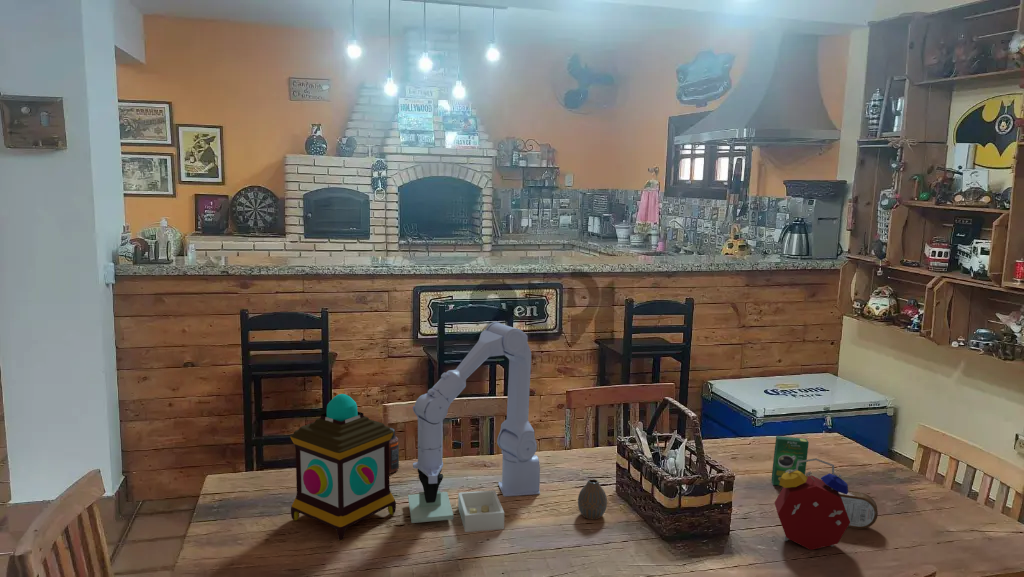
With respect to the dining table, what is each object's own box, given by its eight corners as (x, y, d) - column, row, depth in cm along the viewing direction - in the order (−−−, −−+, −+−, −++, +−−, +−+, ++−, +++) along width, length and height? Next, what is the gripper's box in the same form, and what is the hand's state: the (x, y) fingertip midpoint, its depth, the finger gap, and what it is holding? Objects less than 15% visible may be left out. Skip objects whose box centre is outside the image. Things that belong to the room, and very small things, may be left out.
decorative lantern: (347, 491, 183) (345, 377, 178) (404, 513, 172) (403, 391, 167) (281, 521, 167) (277, 396, 162) (339, 547, 156) (337, 414, 151)
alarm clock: (841, 540, 162) (849, 456, 159) (849, 560, 154) (858, 471, 151) (771, 532, 166) (778, 449, 162) (776, 551, 157) (783, 464, 154)
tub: (494, 505, 177) (495, 490, 176) (504, 528, 165) (504, 512, 164) (458, 508, 175) (458, 492, 174) (465, 532, 163) (465, 515, 163)
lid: (447, 497, 178) (447, 480, 178) (453, 521, 166) (453, 502, 165) (408, 501, 176) (407, 483, 176) (411, 525, 164) (411, 506, 163)
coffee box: (802, 484, 192) (806, 437, 190) (805, 488, 189) (809, 441, 187) (771, 481, 194) (774, 434, 192) (772, 485, 191) (776, 438, 189)
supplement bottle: (401, 466, 199) (401, 427, 198) (395, 474, 193) (395, 434, 192) (380, 464, 200) (379, 425, 198) (374, 473, 194) (373, 433, 192)
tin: (875, 527, 169) (878, 493, 168) (877, 533, 166) (880, 498, 165) (806, 516, 174) (809, 483, 173) (806, 522, 171) (809, 488, 170)
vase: (610, 512, 174) (611, 478, 173) (601, 524, 168) (602, 489, 166) (583, 506, 177) (584, 473, 175) (573, 518, 171) (574, 483, 169)
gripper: (410, 435, 175) (411, 488, 177) (415, 458, 161) (415, 515, 163) (439, 433, 176) (439, 486, 178) (446, 456, 162) (446, 512, 164)
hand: (430, 500), depth 171 cm, fingers closed on lid
